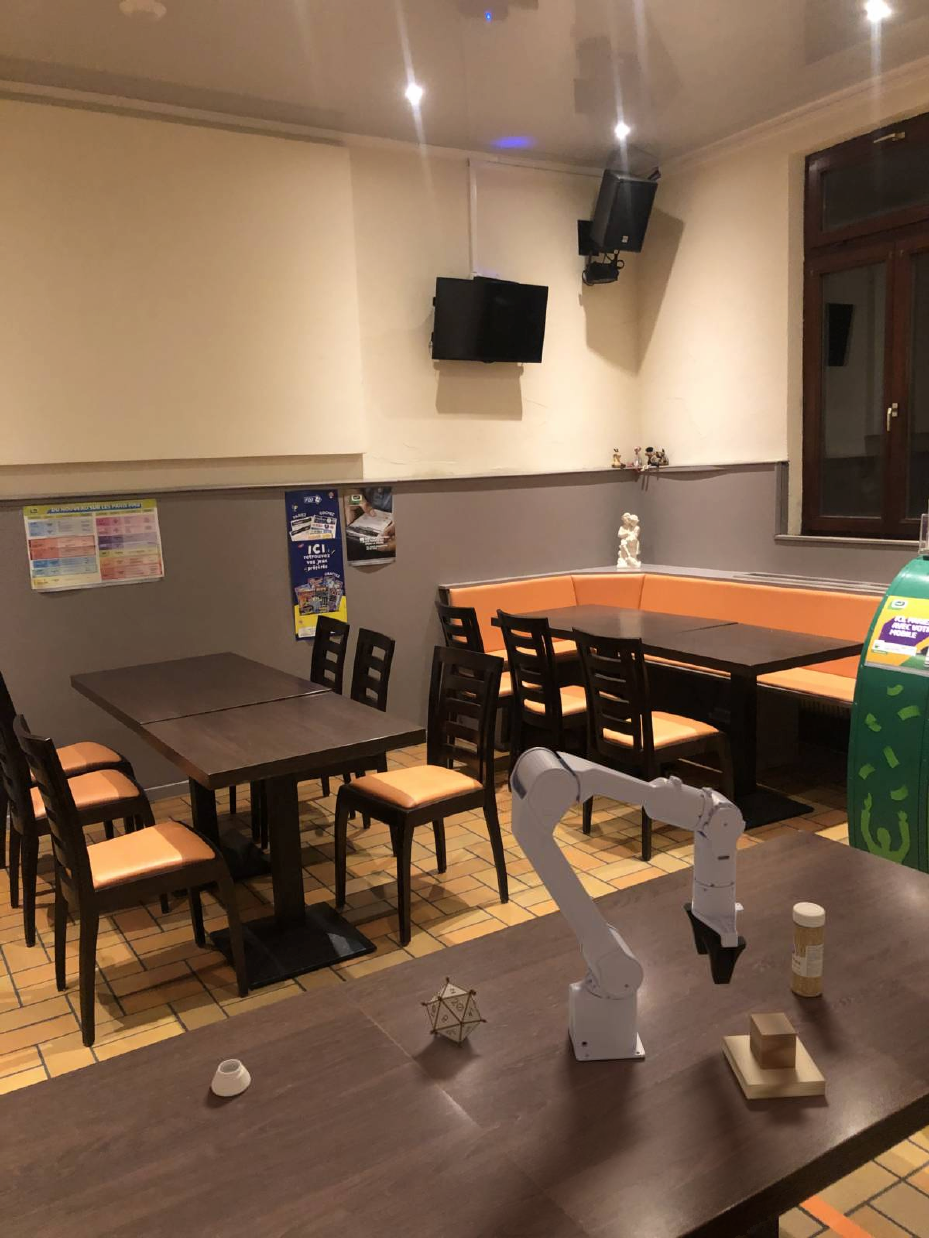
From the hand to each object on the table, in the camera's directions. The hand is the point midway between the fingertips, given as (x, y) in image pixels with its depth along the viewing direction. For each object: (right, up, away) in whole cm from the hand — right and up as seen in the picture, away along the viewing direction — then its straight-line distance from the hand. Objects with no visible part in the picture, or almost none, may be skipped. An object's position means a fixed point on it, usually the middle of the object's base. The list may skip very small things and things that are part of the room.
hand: (713, 967), depth 132 cm
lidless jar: (-67, -13, -7) cm, 68 cm away
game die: (-37, -11, +1) cm, 38 cm away
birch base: (+6, -11, -8) cm, 15 cm away
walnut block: (+6, -9, -8) cm, 13 cm away
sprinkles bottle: (+17, -7, +10) cm, 21 cm away
